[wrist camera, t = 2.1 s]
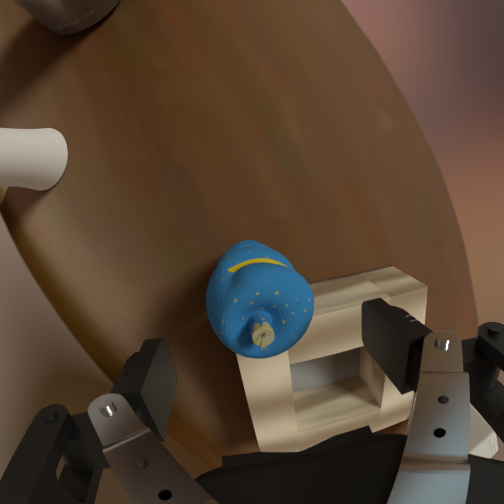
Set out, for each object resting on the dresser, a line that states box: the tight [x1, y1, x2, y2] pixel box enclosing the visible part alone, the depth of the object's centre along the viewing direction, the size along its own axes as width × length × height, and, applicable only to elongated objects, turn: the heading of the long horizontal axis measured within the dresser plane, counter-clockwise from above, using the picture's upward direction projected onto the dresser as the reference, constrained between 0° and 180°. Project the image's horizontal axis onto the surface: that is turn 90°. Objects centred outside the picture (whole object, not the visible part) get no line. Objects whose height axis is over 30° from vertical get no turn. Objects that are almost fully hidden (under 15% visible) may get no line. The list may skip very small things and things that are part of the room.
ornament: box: [206, 240, 314, 359], centre depth 18 cm, size 5×5×15 cm
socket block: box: [236, 266, 428, 452], centre depth 25 cm, size 16×16×6 cm
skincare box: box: [408, 392, 498, 458], centre depth 24 cm, size 8×7×16 cm
